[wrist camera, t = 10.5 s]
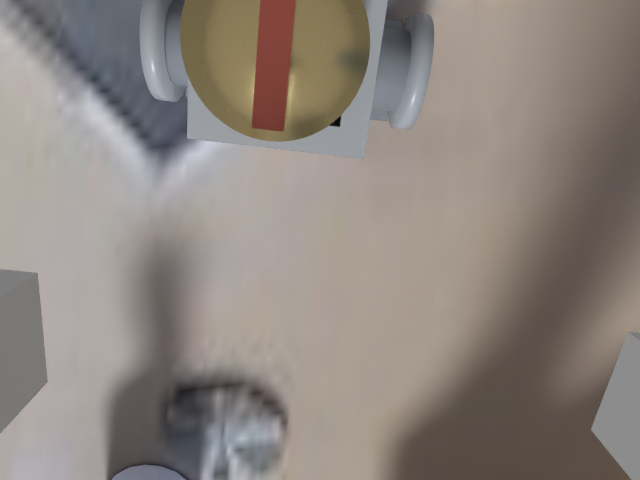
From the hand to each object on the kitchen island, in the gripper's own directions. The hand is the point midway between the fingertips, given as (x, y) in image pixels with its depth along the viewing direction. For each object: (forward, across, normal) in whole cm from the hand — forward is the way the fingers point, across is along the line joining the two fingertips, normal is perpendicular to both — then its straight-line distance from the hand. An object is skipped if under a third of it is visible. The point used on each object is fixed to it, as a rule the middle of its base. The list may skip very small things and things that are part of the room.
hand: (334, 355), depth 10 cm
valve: (+18, +3, -7) cm, 19 cm away
